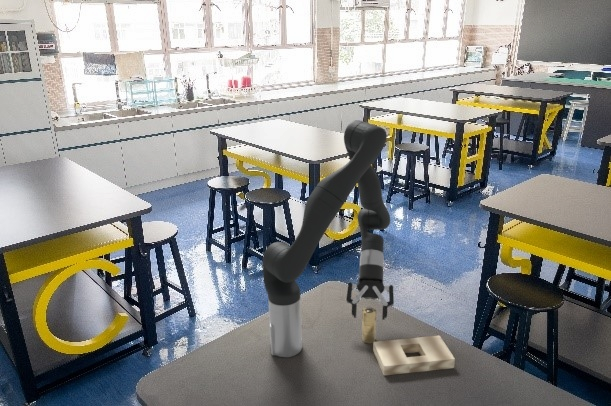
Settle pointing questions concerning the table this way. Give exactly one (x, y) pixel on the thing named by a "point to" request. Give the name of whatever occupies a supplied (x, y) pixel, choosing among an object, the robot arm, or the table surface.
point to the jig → (397, 362)
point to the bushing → (368, 325)
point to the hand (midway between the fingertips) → (369, 318)
